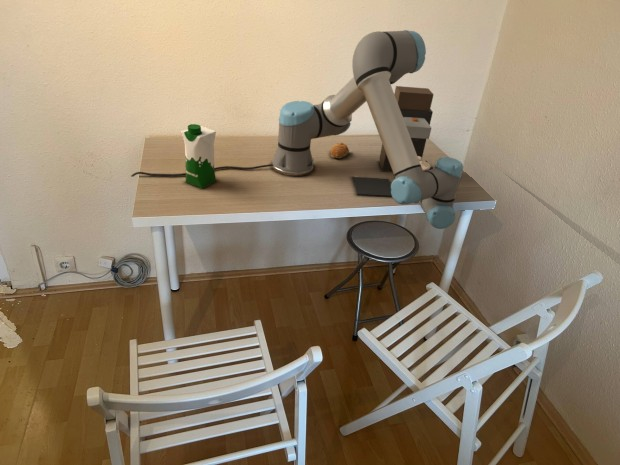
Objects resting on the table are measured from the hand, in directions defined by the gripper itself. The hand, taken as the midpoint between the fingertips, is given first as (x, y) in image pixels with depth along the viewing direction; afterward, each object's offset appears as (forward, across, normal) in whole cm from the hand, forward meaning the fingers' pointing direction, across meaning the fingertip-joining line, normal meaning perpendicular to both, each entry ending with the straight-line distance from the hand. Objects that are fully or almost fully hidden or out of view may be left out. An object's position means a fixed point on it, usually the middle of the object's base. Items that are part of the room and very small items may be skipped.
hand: (412, 163), depth 166 cm
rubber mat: (-3, -13, -9) cm, 16 cm away
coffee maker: (+10, 0, -9) cm, 14 cm away
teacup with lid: (-5, 0, -7) cm, 8 cm away
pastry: (+24, -22, -9) cm, 34 cm away
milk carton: (-6, -72, -9) cm, 73 cm away
